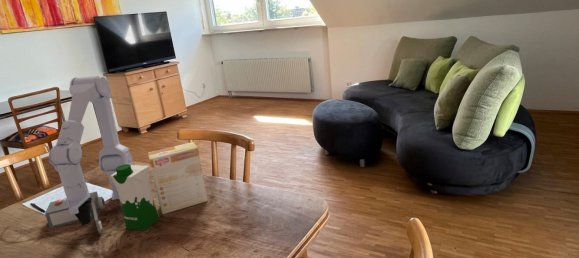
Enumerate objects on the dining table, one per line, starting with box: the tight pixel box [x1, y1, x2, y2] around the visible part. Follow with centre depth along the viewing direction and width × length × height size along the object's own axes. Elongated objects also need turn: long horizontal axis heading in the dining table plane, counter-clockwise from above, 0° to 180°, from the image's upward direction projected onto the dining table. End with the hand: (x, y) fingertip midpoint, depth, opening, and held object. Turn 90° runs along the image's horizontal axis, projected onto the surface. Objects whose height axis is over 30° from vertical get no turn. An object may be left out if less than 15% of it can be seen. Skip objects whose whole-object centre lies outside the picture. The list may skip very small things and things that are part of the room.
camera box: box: [44, 191, 106, 230], centre depth 120 cm, size 16×8×6 cm, turn 112°
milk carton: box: [110, 164, 160, 232], centre depth 110 cm, size 9×9×20 cm
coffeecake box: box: [147, 141, 209, 215], centre depth 120 cm, size 15×7×20 cm, turn 115°
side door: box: [91, 202, 103, 234], centre depth 113 cm, size 13×1×5 cm, turn 31°
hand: (86, 223), depth 112 cm, fingers closed
